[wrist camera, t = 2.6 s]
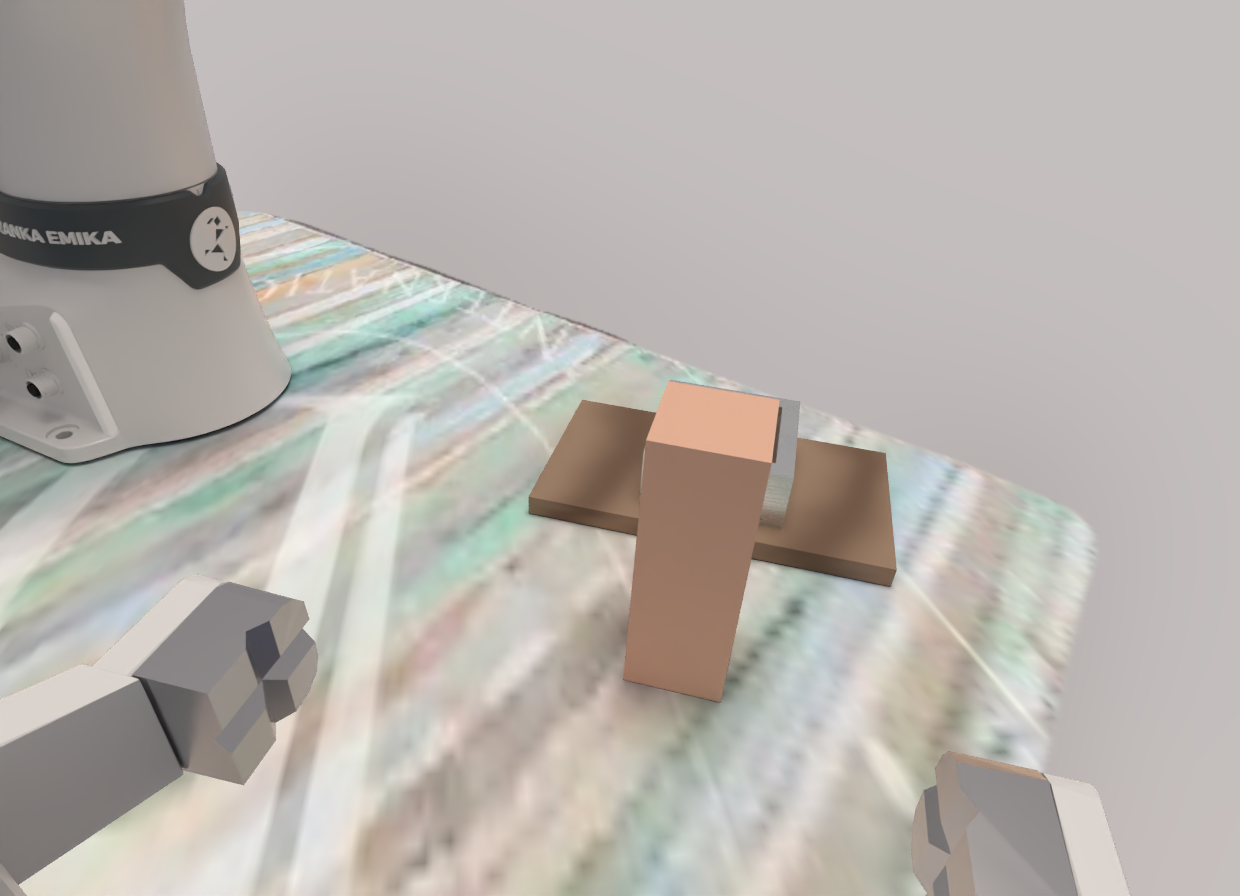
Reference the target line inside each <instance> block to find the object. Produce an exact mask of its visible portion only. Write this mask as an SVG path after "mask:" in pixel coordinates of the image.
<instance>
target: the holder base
mask: <svg viewBox="0 0 1240 896" xmlns="http://www.w3.org/2000/svg"><path fill="white" fill-rule="evenodd" d="M655 415H656V413H654V412H648V411H643V410H637V409H631V408H626V407H620V406H614V405H608V404H603V403H597V402H591V401H586V400H582V401H581V403H580V405H579V407H578V408H577V410H576V412H575V414H574V416H573V418H572V419H571V421H570V423H569V425H568V427H567V428H566V430H565V432H564V434H563V436H562V437H561V439H560V441H559V443H558V445H557V446H556V448H555V450H554V452H553V454H552V455H551V457H550V459H549V461H548V463H547V464H546V466H545V468H544V470H543V472H542V474H541V475H540V477H539V479H538V481H537V483H536V484H535V486H534V488H533V490H532V492H531V493H530V495H529V513H531V514H536V515H541V516H545V517H550V518H555V519H560V520H565V521H570V522H575V523H580V524H585V525H590V526H595V527H600V528H605V529H610V530H615V531H619V532H624V533H629V534H634V535H637V530H638V519H639V509H640V501H639V495H640V485H641V474H642V463H643V453H644V448H645V445H646V439H647V436H648V434H649V431H650V428H651V426H652V423H653V421H654V418H655ZM752 558H753V559H757V560H762V561H767V562H772V563H777V564H782V565H787V566H792V567H797V568H802V569H807V570H812V571H817V572H822V573H827V574H831V575H836V576H841V577H846V578H851V579H856V580H861V581H866V582H871V583H876V584H881V585H886V586H891V584H892V581H893V578H894V576H895V573H896V570H897V569H896V558H895V548H894V537H893V526H892V516H891V505H890V495H889V484H888V473H887V463H886V453H881V452H876V451H870V450H864V449H859V448H853V447H847V446H842V445H836V444H830V443H825V442H819V441H813V440H808V439H802V438H797V446H796V459H795V471H794V480H793V484H792V488H791V492H790V497H789V501H788V505H787V509H786V513H785V518H784V522H783V526H782V529H780V528H775V527H770V526H765V525H758V530H757V534H756V539H755V544H754V548H753V553H752Z"/></svg>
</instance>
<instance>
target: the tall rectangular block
mask: <svg viewBox="0 0 1240 896" xmlns="http://www.w3.org/2000/svg"><path fill="white" fill-rule="evenodd" d="M779 401H780V400H778V399H772V398H766V397H760V396H754V395H748V394H742V393H736V392H730V391H724V390H718V389H712V388H706V387H701V386H695V385H689V384H683V383H677V382H671V381H668V384H667V387H666V389H665V392H664V394H663V397H662V400H661V402H660V405H659V407H658V410H657V413H656V415H655V418H654V421H653V423H652V426H651V428H650V431H649V434H648V436H647V439H646V445H645V456H644V466H643V477H642V488H641V498H640V509H639V519H638V530H637V540H636V551H635V561H634V572H633V582H632V593H631V604H630V614H629V625H628V635H627V646H626V656H625V667H624V677H623V680H627V681H631V682H636V683H640V684H644V685H648V686H653V687H657V688H661V689H665V690H670V691H674V692H678V693H682V694H687V695H691V696H695V697H700V698H704V699H708V700H712V701H717V702H721V698H722V693H723V689H724V684H725V679H726V675H727V670H728V665H729V661H730V656H731V651H732V647H733V642H734V637H735V633H736V628H737V623H738V619H739V614H740V609H741V605H742V600H743V595H744V590H745V586H746V581H747V576H748V572H749V567H750V562H751V558H752V553H753V548H754V544H755V539H756V534H757V530H758V525H759V520H760V516H761V511H762V506H763V502H764V497H765V492H766V488H767V483H768V478H769V474H770V469H771V464H772V457H773V449H774V441H775V433H776V425H777V417H778V409H779Z"/></svg>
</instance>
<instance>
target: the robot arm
mask: <svg viewBox="0 0 1240 896" xmlns="http://www.w3.org/2000/svg"><path fill="white" fill-rule="evenodd" d="M232 196H233V194H232V191H231V187H230V185H229V182H228V178H227V175H226V171H225V169H224V168H223V167H222V166H221V165H220V164H218V163H217V162H216V160H215V156H214V152H213V147H212V143H211V138H210V134H209V130H208V125H207V121H206V116H205V112H204V108H203V104H202V99H201V95H200V90H199V85H198V81H197V77H196V72H195V68H194V63H193V59H192V54H191V50H190V45H189V38H188V31H187V25H186V18H185V8H184V0H0V436H1V437H4V438H6V439H8V440H11V441H13V442H15V443H18V444H20V445H23V446H25V447H27V448H30V449H32V450H34V451H37V452H39V453H41V454H44V455H46V456H49V457H51V458H53V459H56V460H58V461H61V462H64V463H78V462H84V461H88V460H92V459H95V458H99V457H102V456H105V455H108V454H112V453H115V452H118V451H121V450H123V449H126V448H130V447H135V446H140V445H146V444H153V443H161V442H168V441H174V440H179V439H184V438H189V437H193V436H197V435H201V434H205V433H208V432H211V431H214V430H218V429H220V428H223V427H226V426H229V425H231V424H234V423H236V422H238V421H240V420H243V419H245V418H247V417H249V416H251V415H252V414H254V413H256V412H258V411H259V410H261V409H263V408H264V407H266V406H267V405H268V404H270V403H271V402H272V401H273V400H275V399H276V398H277V397H278V396H279V395H280V394H281V393H282V391H283V390H284V389H285V388H286V386H287V384H288V382H289V380H290V377H291V367H290V364H289V362H288V360H287V358H286V357H285V355H284V353H283V352H282V350H281V348H280V346H279V344H278V342H277V340H276V339H275V336H274V334H273V332H272V330H271V328H270V325H269V323H268V321H267V319H266V317H265V315H264V312H263V310H262V307H261V305H260V302H259V300H258V297H257V294H256V292H255V289H254V286H253V284H252V281H251V278H250V276H249V273H248V271H247V268H246V265H245V263H244V260H243V258H242V255H241V253H240V236H239V221H238V217H237V213H236V209H235V205H234V201H233V197H232ZM308 620H309V617H308V613H307V610H306V607H305V604H304V601H300V600H296V599H292V598H289V597H285V596H281V595H277V594H273V593H269V592H266V591H262V590H258V589H254V588H250V587H246V586H243V585H239V584H235V583H232V582H228V581H223V580H219V579H215V578H211V577H207V576H203V575H199V574H194V575H192V576H190V577H187V578H185V579H183V580H181V581H180V582H179V583H178V584H177V585H176V586H175V587H174V588H173V589H172V590H171V591H170V592H168V593H167V594H166V595H165V596H164V597H163V598H162V599H161V600H160V601H159V602H158V603H157V604H156V605H155V606H154V607H153V608H152V609H151V610H150V611H149V612H148V613H147V614H146V615H145V616H144V617H143V618H142V619H141V620H139V621H138V622H137V623H136V624H135V625H134V626H133V627H132V628H131V629H130V630H129V631H128V632H127V633H126V634H125V635H124V636H123V637H122V638H121V639H120V640H119V641H118V642H117V643H116V644H115V645H114V646H113V647H112V648H110V649H109V650H108V651H107V652H106V653H105V654H104V655H103V656H102V657H101V658H100V659H99V660H98V661H97V662H96V663H95V664H94V665H93V666H90V665H85V664H80V665H78V666H76V667H73V668H71V669H69V670H67V671H64V672H62V673H60V674H57V675H55V676H53V677H51V678H48V679H46V680H44V681H41V682H39V683H37V684H35V685H32V686H30V687H28V688H25V689H23V690H21V691H19V692H16V693H14V694H12V695H9V696H7V697H5V698H3V699H0V896H27V895H26V894H25V893H24V892H23V890H22V889H21V888H20V887H19V884H20V883H22V882H23V881H25V880H26V879H28V878H29V877H31V876H32V875H34V874H35V873H37V872H38V871H40V870H41V869H43V868H44V867H46V866H47V865H49V864H50V863H52V862H53V861H55V860H56V859H58V858H59V857H61V856H62V855H64V854H65V853H67V852H68V851H70V850H71V849H73V848H74V847H76V846H77V845H79V844H80V843H82V842H83V841H85V840H86V839H88V838H89V837H90V836H92V835H93V834H95V833H96V832H98V831H99V830H101V829H102V828H104V827H105V826H107V825H108V824H110V823H111V822H113V821H114V820H116V819H117V818H119V817H120V816H122V815H123V814H125V813H126V812H128V811H129V810H131V809H132V808H134V807H135V806H137V805H138V804H140V803H141V802H143V801H144V800H146V799H147V798H149V797H150V796H152V795H153V794H155V793H156V792H158V791H159V790H161V789H162V788H164V787H165V786H167V785H168V784H170V783H171V782H173V781H174V780H176V779H177V778H179V777H180V776H182V775H183V771H182V770H185V771H189V772H193V773H197V774H201V775H205V776H209V777H213V778H217V779H221V780H225V781H229V782H233V783H237V784H241V785H244V784H245V783H246V781H247V780H248V779H249V777H250V776H251V774H252V773H253V772H254V770H255V769H256V767H257V766H258V765H259V763H260V762H261V760H262V759H263V758H264V756H265V755H266V753H267V752H268V750H269V749H270V748H271V746H272V745H273V743H274V742H275V741H276V725H275V723H276V722H278V721H279V720H281V719H283V718H285V717H287V716H288V715H290V714H292V713H294V712H295V711H297V709H298V708H299V706H300V705H301V703H302V702H303V700H304V699H305V697H306V696H307V694H308V693H309V691H310V688H311V685H312V683H313V680H314V677H315V675H316V672H317V662H318V653H317V648H316V644H315V641H314V640H313V639H312V638H311V637H310V636H309V635H308V634H307V633H306V632H305V631H304V630H303V629H302V628H303V627H304V625H305V624H306V623H307V621H308ZM935 773H936V783H937V785H936V786H933V787H931V788H929V789H926V790H924V791H923V793H922V795H921V798H920V800H919V802H918V804H917V807H916V810H915V816H914V821H913V826H912V843H911V852H912V867H913V873H914V874H915V876H916V877H917V879H918V880H919V882H920V883H921V885H922V886H923V888H924V889H925V891H926V892H927V894H926V896H1131V894H1130V891H1129V888H1128V884H1127V882H1126V878H1125V875H1124V872H1123V869H1122V866H1121V862H1120V859H1119V856H1118V853H1117V850H1116V846H1115V843H1114V840H1113V837H1112V834H1111V830H1110V827H1109V824H1108V821H1107V818H1106V815H1105V812H1104V808H1103V805H1102V802H1101V799H1100V796H1099V794H1098V793H1097V791H1096V790H1095V789H1094V787H1093V786H1092V785H1091V784H1087V783H1084V782H1080V781H1076V780H1071V779H1066V778H1062V777H1058V776H1053V775H1049V774H1044V773H1039V772H1038V771H1037V770H1033V769H1028V768H1023V767H1019V766H1014V765H1010V764H1005V763H1001V762H996V761H992V760H987V759H983V758H978V757H973V756H969V755H964V754H960V753H955V752H951V751H948V752H947V753H945V754H943V755H942V756H941V758H940V760H939V762H938V764H937V765H936V767H935Z"/></svg>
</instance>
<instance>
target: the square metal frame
mask: <svg viewBox="0 0 1240 896" xmlns="http://www.w3.org/2000/svg"><path fill="white" fill-rule="evenodd" d="M670 381H671V382H677V383H683V384H689V385H695V386H701V387H706V388H712V389H718V390H724V391H730V392H736V393H742V394H748V395H754V396H760V397H766V398H772V399H778V400H780V401H779V409H778V417H777V425H776V433H775V441H774V449H773V457H772V464H771V469H770V474H769V478H768V483H767V488H766V492H765V497H764V502H763V506H762V511H761V516H760V520H759V525H765V526H770V527H775V528H780V529H782V526H783V522H784V518H785V513H786V509H787V505H788V501H789V497H790V492H791V488H792V484H793V480H794V471H795V459H796V446H797V434H798V421H799V409H800V402H798V401H793V400H787V399H781V398H775V397H769V396H763V395H757V394H751V393H745V392H739V391H733V390H727V389H721V388H716V387H710V386H704V385H698V384H692V383H686V382H680V381H674V380H670ZM644 456H645V448H644V453H643V463H642V474H641V485H640V495H639V501H640V498H641V488H642V477H643V466H644Z"/></svg>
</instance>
